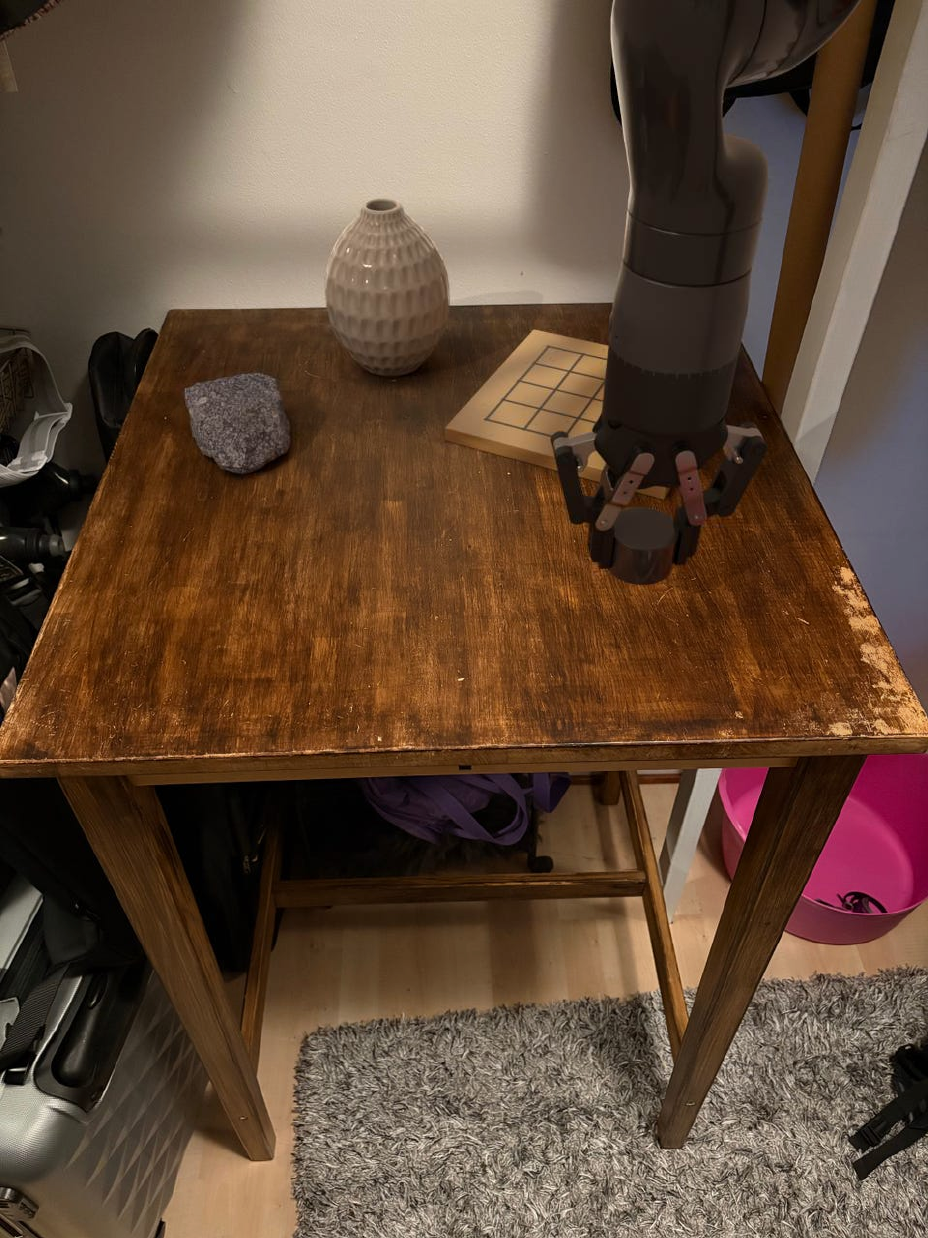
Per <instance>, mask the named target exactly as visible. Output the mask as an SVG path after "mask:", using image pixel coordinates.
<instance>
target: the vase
mask: <svg viewBox="0 0 928 1238" xmlns="http://www.w3.org/2000/svg"><path fill="white" fill-rule="evenodd" d="M450 289H451V288H450V281H449V275H448V271H447V268H446V264H445V262H444V259H443V257H442V255H441V253H440V250H439V248H438V247H437V245H436V242H435V241H434V240H433V239H432V237H431V236H430V235H429V233H428V232H427V230H426V229H425V228H424V227H422V225H421V224H420V223H419V222H418V221H416V220H415V219H414V218H413V217H411V215H409V214H408V213H407V212H406V211H405V208H404V206H403V204H402V203H401V202H400V201H398V200H396V199H394V198H387V197H386V198H385V197H380V198H372V199H369V200H366V201H365V202H363V203H362V204H361V206H360V210H359V213H358V214H357V216H356V217H355V218H354V219H352V221H351V222H350V223H349V224H348V225H347V226H346V227H345V228H344V230H343V231H342V232H341V233H340V234H339V237H338V239H337V241H336V242H335V243H334V246H333V248H332V250H331V253H330V256H329V258H328V261H327V265H326V271H325V276H324V299H325V309H326V312H327V318H328V322H329V324H330V326H331V329H332V331H333V334H334V336H335V337H336V339H337V340H338V342H339V343H340V345H341V347H342V348H343V349H344V350H345V352H346V353H347V355H348V356H350V358H351V359H352V360H353V361H354V362H355V363H357V364H358V365H359V366H361V367H362V368H363V369H364V370H366V371H367V373H370V374H372V375H375V376H379V377H386V378H396V377H402V376H406V375H409V374H411V373H413V372H415V371H416V370H418V369H419V368H420V367H421V366H422V365H423V364H425V362H426V361H427V360H428V359H429V358H430V356H432V354H433V353H434V352H435V350H436V348H437V346H438V345H439V343H440V340H441V339H442V337H443V335H444V333H445V330H446V327H447V324H448V319H449V315H450V304H451V294H450V293H451V291H450Z"/></svg>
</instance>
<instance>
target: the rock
mask: <svg viewBox="0 0 928 1238" xmlns="http://www.w3.org/2000/svg"><path fill="white" fill-rule="evenodd" d="M184 402H185V407H186V409H187V410H188V412H189V418H190V421H189V425H190V429H191V435H192V437H193V438H194V439H195V442H196V444H197V447H198V448H199V449H200V452H201V453H202V455H203V456H207V457H208V458H211V459H214V462H215V463H216V464H217V466H218V467H219V468H220V469H221V470H223V471H229V472H231V473H236V474H240V475H241V474H251V473H254V472H256V471H258V470H260V469H261V468H263V467H265V465H266V464H267V463H269V462H273V461H275V460H276V459H277V458H279V457H281V456H282V455H285V454H286V453H287V452H288V451H289V448H290V445H291V437H290V428H291V425H290V421H289V419H288V418H287V415H286V412H285V405H284V397H283V395H282V392H281V388H280V386H279V384H278V382H277V379H276V378H274V377H272V376H269V375H268V374H264V373H261V372H255V373H247V374H245V373H240V374H237V375H233V376H228V377H220V378H217V379H215V380H207V381H204V382H196V383H195V384H194V385H192V386H190V387H186V388H184Z"/></svg>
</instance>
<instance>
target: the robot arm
mask: <svg viewBox="0 0 928 1238" xmlns="http://www.w3.org/2000/svg"><path fill="white" fill-rule="evenodd" d="M860 2H862V0H612V5H611V6H612V7H611V13H610V44H611V45H610V46H611V54H612V63H613V69H614V75H615V77H614V78H615V83H616V89H617V96H618V102H619V110H620V115H621V116H620V117H621V125H622V133H623V141H624V147H625V152H626V160H627V165H628V167H627V168H628V173H629V185H630V186H629V193H628V200H627V208H626V216H625V217H626V218H625V227H624V237H623V245H622V246H623V247H622V254H621V255H622V256H621V262H620V268H619V272H618V276H617V279H616V284H615V288H614V293H613V300H612V307H611V312H610V315H609V319H608V333H609V336H608V345H607V346H608V355H607V365H606V375H605V385H604V394H603V404H602V412H601V415H600V417H599V418H598V420H597V421H596V423H595V424H594V426H593V428H592V431H591V432H587V433H584V434H580V435H576V436H572V437H569V436H568V434H567V433H566V432H564V431H558V432H555V433H554V434H553V435H552V436H551V445H552V449H553V453H554V457H555V461H556V466H557V470H558V471H557V474H558V477H559V481H560V487H561V489H562V494H563V498H564V501H565V507H566V510H567V514H568V518H569V521H570V523H571V524H573V525H582V524H584V523H586V524H588V532H587V533H588V534H587V541H586V546H587V550H588V553H589V554H588V555H589V556H590V560H591V563H597V567H598V569H599V570H608V569H610V564H611V556H612V548H613V540H614V532H615V530H614V526H613V524H614V522H615V520H616V519H617V517H618V515H619V513H620V511H623V510H622V509H624V508H627V507H628V506H629V504H630V502H631V501H632V499H633V497H634V495H635V494H636V493H637V492H636V490H638V489H646V488H650V487H654V486H659V487H665V488H670V489H675V488H677V491H678V494H679V499H680V501H681V503H680V506H676V507H675V512H674V517H673V519H674V520H675V521H676V523H677V525H678V527H679V538H678V544H677V549H676V554H675V559H674V564H673V565H674V566H685V565H686V564H687V561H688V560H687V559H688V558H693V557H694V555H695V554H696V553H697V550H698V545H699V539H700V534H701V531H702V525H703V524H704V523H706V521H707V519H708V518H710V517H713V516H716V515H717V516H719V517H721V518H727V517H729V516H732V514H734V512H735V510H736V509H737V507H738V506H739V503H740V501H741V499H742V498H743V496H744V495H745V492H746V490H747V489H748V487H749V485H750V483H751V481H752V479H753V477H754V476H755V474H756V472H757V471H758V469H759V467H760V465H761V462H762V461H763V460H764V458H765V456H766V454H767V452H768V445H767V443H766V442H765V439H764V437H763V435H762V433H761V432H760V430H759V429H758V427H757V425H756V423H754V422H752V421H746V422H744V423H742V424H740V426H734V425H729V424H726V419H725V416H726V414H727V410H728V407H729V403H730V397H731V392H732V388H733V383H734V378H735V373H736V369H737V363H738V359H739V355H740V354H739V353H740V350H741V345H742V340H743V335H744V331H745V325H746V321H747V316H748V311H749V305H750V295H751V293H750V292H751V278H752V271H753V265H754V260H755V255H756V251H757V246H758V242H759V236H760V231H761V227H762V223H763V222H762V221H763V218H764V217H763V216H764V214H765V213H764V211H765V206H766V201H767V196H768V191H769V190H768V189H769V181H770V168H769V163H768V159H767V157H766V154H765V153H764V151H763V150H762V149H761V148H760V147H759V146H758V145H756V144H755V143H754V142H753V141H751V140H749V139H747V138H745V137H742V136H740V135H735V134H733V133H728V132H725V129H724V118H723V104H724V96H725V90H726V89H729V88H735V87H739V86H743V85H747V84H751V83H755V82H756V83H757V82H760V81H764V80H769V79H772V78H775V77H778V76H780V75H783V74H784V73H787V72H790V71H791V70H792V69H794V68H796V67H797V66H799V65H801V64H802V63H803V62H805V61H806V60H807V59H808V58H810V57H811V56H812V55H814V54H815V53H816V52H817V51H818V50H820V49H821V48H822V47H823V46H824V45H825V44H826V43H827V42H828V41H829V40H831V38H832V37H833V36H834V35H835V34H837V32H839V30H840V29H841V28H842V27H843V26H844V24H845V23H847V21H848V19H849V18H850V17H851V15H852V14H853V13H854V11H855V10H856V8H857V7H858V5H859V4H860ZM721 449H722V450H723V452H724V455H723V458H722V460H721V462H720V464H719V466H718V468H717V470H716V471H715V474H714V475H713V477H712V479H711V481H710V483H709V485H708V487H707V488H706V489H704V490H703V489H702V485H701V480H700V475H699V471H700V470H701V469H702V468H703V467H704V466H705V465H706V464H707V463H708V462H709V461H710V460H711V459H712V458H713V457H714V456H715V455H716V454H717V453H718V452H719V451H720V450H721ZM594 451H597V452H598V454H599V455H600V456H601V457H602V459H603V460H604V461H605V462H606V464H605V466H604V468H603V470H602V473H601V479H600V482H598V484H597V487H596V489H595V491H594V493H593V494H592V496H591V495H587V494H584V493H583V489H582V484H581V480H580V477H579V475H578V472H583V471H584V468H585V467H586V466H587V464H588V457H589V455H590V454H591V453H592V452H594Z"/></svg>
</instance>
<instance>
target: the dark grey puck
mask: <svg viewBox="0 0 928 1238" xmlns="http://www.w3.org/2000/svg"><path fill="white" fill-rule="evenodd" d="M613 526H614V530H615V532H614V540H613V548H612V556H611V564H610V569H607V570H608V572H609V573H610V574H611V575H612V576H613V577H615V578H616V579H618V580H620V581H622V582H624V583H627V584H631V585H636V586H650V585H655V584H658V583H662V582H663V581H664V580H666V579H667V578H669V576H670V575H671V574H672V572H673V569H674V565H675V564H674V559H675V554H676V549H677V544H678V538H679V527H678V525H677V523H676V521H675V520H674V517H672V516H671V515H669V514H668V513H666V512H664V511H662V510H659V509H656V508H651V507H645V506H637V507H628V508H626V509H623V510H621V511H620V513H619V515H618V517H617V519H616V520H615V522H614V524H613Z"/></svg>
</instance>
